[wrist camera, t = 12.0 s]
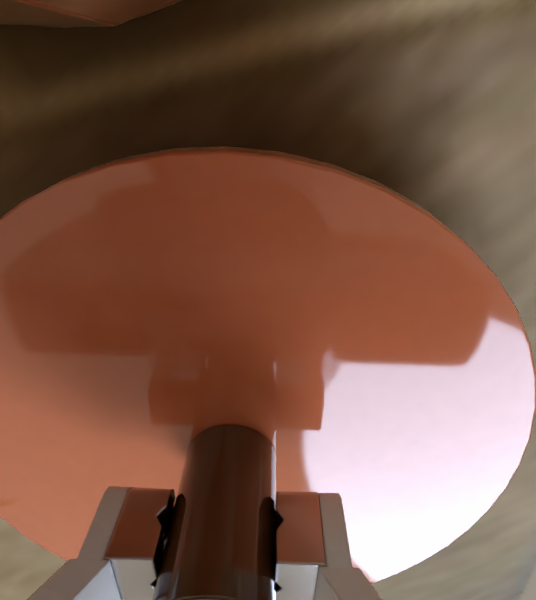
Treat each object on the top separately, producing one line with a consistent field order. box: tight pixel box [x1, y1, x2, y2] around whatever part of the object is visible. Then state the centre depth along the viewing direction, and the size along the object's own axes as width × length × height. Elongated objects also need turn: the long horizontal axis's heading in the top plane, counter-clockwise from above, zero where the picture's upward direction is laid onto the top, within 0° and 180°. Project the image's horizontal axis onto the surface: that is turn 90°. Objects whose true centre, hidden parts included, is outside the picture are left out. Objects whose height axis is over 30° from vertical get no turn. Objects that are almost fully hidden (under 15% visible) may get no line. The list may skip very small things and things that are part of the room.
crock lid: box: [0, 146, 536, 600], centre depth 10 cm, size 16×16×5 cm
